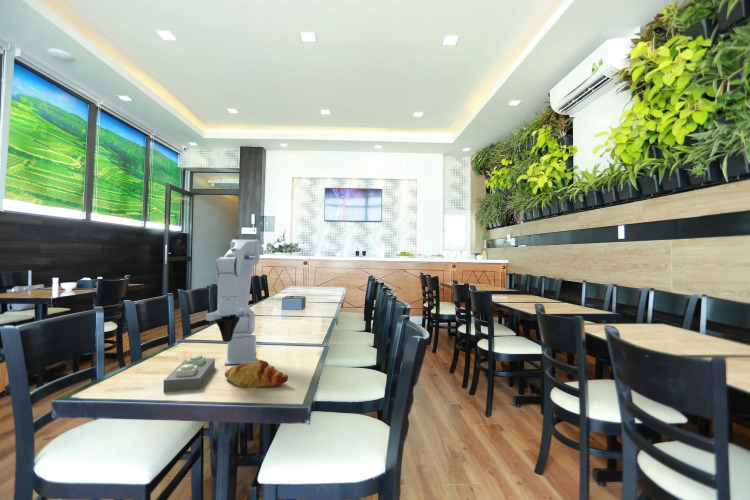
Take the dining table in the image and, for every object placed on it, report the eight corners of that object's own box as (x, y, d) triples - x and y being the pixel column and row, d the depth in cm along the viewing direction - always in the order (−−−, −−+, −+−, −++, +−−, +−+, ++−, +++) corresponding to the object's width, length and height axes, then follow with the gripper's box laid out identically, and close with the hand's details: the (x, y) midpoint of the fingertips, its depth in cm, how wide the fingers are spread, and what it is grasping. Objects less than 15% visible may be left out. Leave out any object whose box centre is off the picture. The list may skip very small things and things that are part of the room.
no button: (197, 375, 106) (197, 363, 106) (193, 380, 102) (193, 367, 102) (180, 376, 105) (181, 364, 105) (176, 381, 101) (176, 368, 101)
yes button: (205, 365, 116) (205, 354, 116) (202, 370, 111) (202, 358, 112) (190, 366, 115) (190, 355, 115) (186, 370, 110) (186, 358, 111)
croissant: (218, 394, 105) (208, 373, 102) (238, 368, 114) (230, 348, 111) (283, 401, 99) (275, 379, 96) (298, 374, 108) (292, 353, 105)
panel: (214, 367, 119) (214, 358, 119) (199, 389, 99) (200, 378, 100) (184, 369, 117) (184, 359, 117) (163, 391, 97) (163, 380, 97)
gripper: (234, 293, 120) (234, 335, 119) (198, 297, 106) (197, 344, 106) (252, 294, 117) (251, 337, 117) (216, 299, 104) (216, 347, 103)
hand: (226, 341), depth 111 cm, fingers closed
